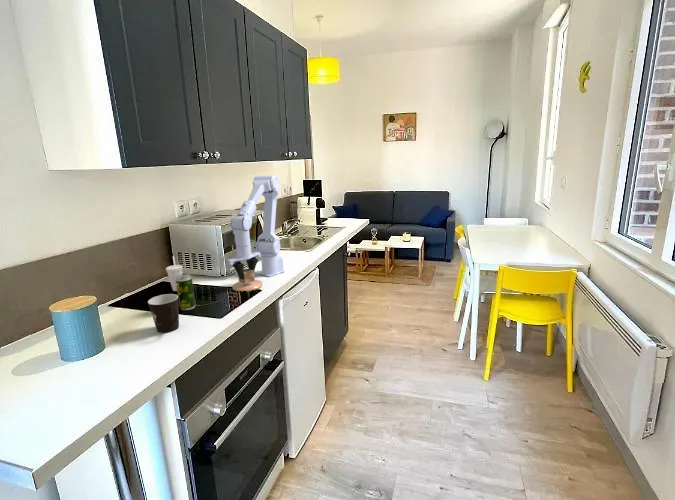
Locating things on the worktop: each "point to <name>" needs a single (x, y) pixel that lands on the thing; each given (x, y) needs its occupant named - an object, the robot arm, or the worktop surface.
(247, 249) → the robot arm
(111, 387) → the worktop surface
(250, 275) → the walnut block
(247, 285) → the terracotta dish
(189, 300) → the beer can
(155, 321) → the coffee mug
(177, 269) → the smoothie
